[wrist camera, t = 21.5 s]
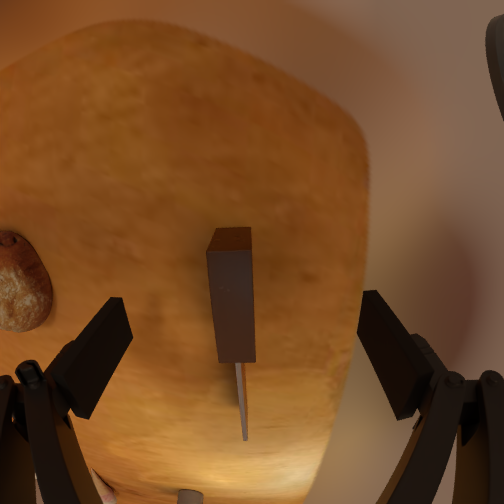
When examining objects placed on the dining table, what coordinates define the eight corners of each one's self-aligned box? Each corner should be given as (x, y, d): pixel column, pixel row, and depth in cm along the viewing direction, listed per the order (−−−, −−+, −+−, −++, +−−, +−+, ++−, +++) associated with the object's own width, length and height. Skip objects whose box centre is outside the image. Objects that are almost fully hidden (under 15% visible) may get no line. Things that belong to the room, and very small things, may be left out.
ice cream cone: (79, 459, 36) (98, 496, 38) (80, 475, 32) (101, 510, 34) (100, 458, 38) (116, 495, 40) (103, 475, 34) (120, 510, 36)
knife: (215, 228, 20) (205, 251, 16) (251, 226, 20) (251, 250, 16) (233, 407, 27) (231, 444, 22) (257, 406, 27) (259, 444, 22)
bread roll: (24, 293, 26) (4, 349, 21) (-25, 233, 19) (-58, 290, 13) (77, 282, 26) (57, 350, 20) (22, 207, 18) (-21, 276, 13)
